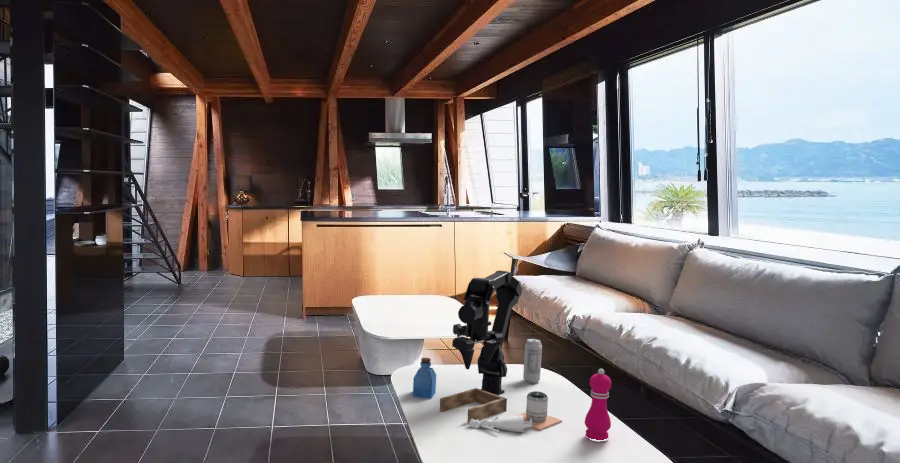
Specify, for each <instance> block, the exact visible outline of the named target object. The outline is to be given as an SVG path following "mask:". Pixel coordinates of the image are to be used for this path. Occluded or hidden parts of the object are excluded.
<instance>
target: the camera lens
mask: <svg viewBox="0 0 900 463" xmlns="http://www.w3.org/2000/svg"><path fill="white" fill-rule="evenodd" d="M548 403H549V396H548V395H547V394H546V393H544V392H542V391H535V390H534V391H531V392H528V393H527V394H526V407H525V409H526V410H525V413H526V416H527V419H528V420H530V418H531V419H532V422H544V421H545V420H546V417H547V415H548Z"/></svg>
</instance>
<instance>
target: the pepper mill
mask: <svg viewBox="0 0 900 463" xmlns="http://www.w3.org/2000/svg"><path fill="white" fill-rule="evenodd" d="M589 386H590V388H591V390H590V396H591V404H590V407H589V409H588V411H587V413H586V415H585V417H584V418H585V419H584V425H585V427H586V430H585V437H586V436H587V437H588V438H591V439H596V440H604V439H607V438H608V439H609V432H608V431H609V430H610V429H611V427H612V425H611V424H612V421H611V417H610V414H609V411H608V408H607V407H608V406H607V405H608V404H607V402H608V398H609V397H610V395H609V394H610V393H609V391H610V390H611V388H612V380H611V378H610V377H609V376H608V375H607V374H605V370H604V369H603V368H599V369H598V370H597V373H595V374H592V376H591V377H590V379H589Z"/></svg>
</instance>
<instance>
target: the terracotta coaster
mask: <svg viewBox="0 0 900 463" xmlns="http://www.w3.org/2000/svg"><path fill="white" fill-rule="evenodd" d="M520 415H523V420H524V422H529V420H528V419H527V416H526V412H524V413H523V412H522V413H521V414H520V413H519V414H517V415H516V416H520ZM560 422H561V423H563V419H559V418H557V417H553V416H551V415H549V414H547V417H546V420H545V421H544V422H532V427H530V428H531V429H534V430H536V431H540V432H541V431H543V429H544V430H545V429H548V427H549V428H551V427H553V426H555V424H556V425H558V424H561V423H560ZM557 423H558V424H557ZM550 426H551V427H550Z"/></svg>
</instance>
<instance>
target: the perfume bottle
mask: <svg viewBox="0 0 900 463" xmlns="http://www.w3.org/2000/svg"><path fill="white" fill-rule="evenodd" d="M420 360H421V361H420V363H419V364H420V367H419V369H418V370H417V371H416V373H415V375H414V377H413V383H412V397H413V398H419V399H420V398H421V399H430V400H431V399H432V398H433V397H434V396H435V394H436V389H437V373H436V372H435V369H434V368H433V367H431V366H432V362H431V358H429V357H421V358H420Z"/></svg>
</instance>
